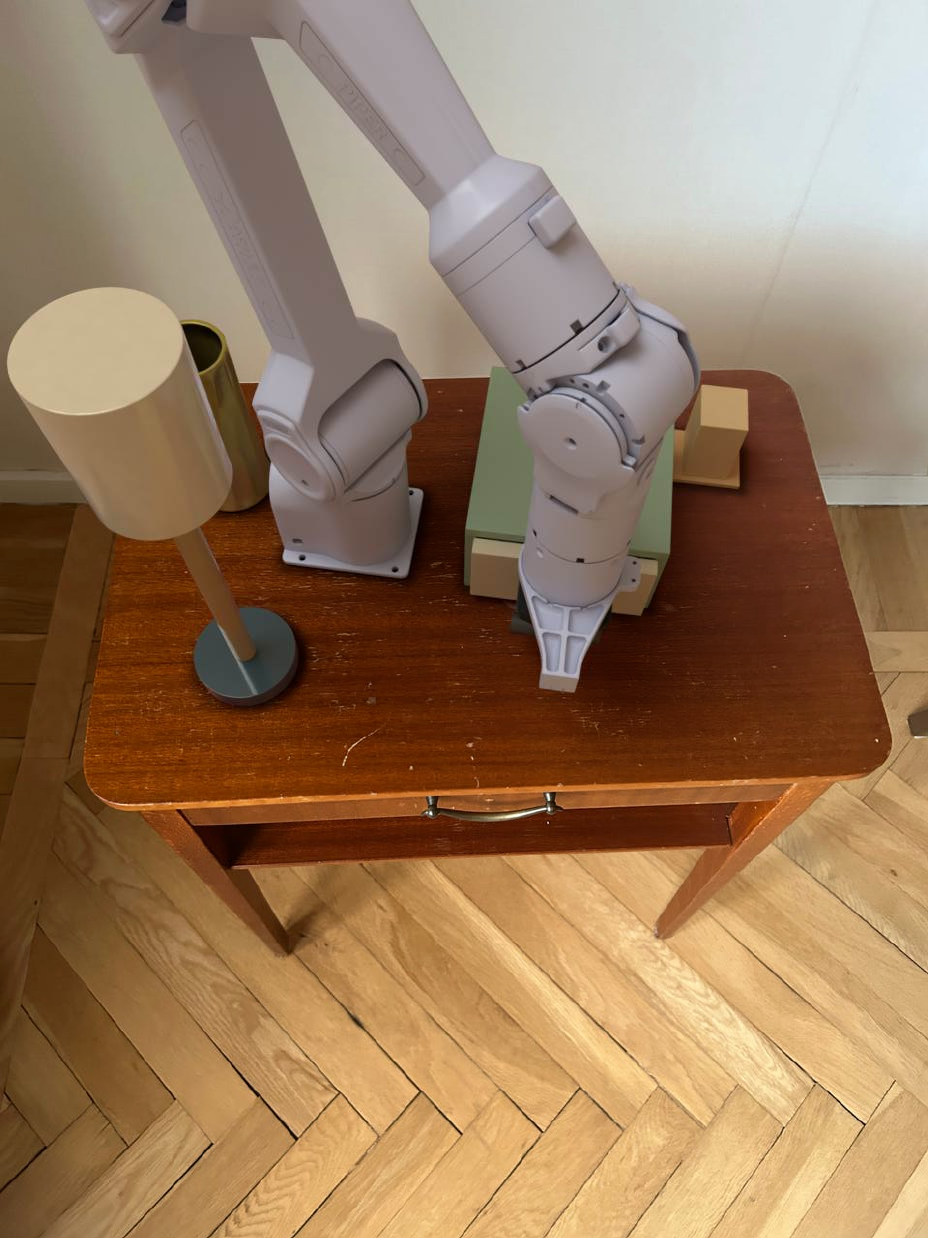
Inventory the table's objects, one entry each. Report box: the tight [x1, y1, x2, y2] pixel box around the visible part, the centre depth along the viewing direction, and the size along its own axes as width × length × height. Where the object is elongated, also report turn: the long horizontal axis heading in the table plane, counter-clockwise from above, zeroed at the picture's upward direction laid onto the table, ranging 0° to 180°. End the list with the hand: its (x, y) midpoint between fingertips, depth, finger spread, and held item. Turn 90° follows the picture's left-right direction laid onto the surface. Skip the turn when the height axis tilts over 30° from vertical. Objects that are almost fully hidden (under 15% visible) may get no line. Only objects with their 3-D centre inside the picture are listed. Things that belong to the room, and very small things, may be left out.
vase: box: [179, 318, 271, 512], centre depth 63 cm, size 6×6×14 cm
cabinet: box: [463, 365, 676, 609], centre depth 65 cm, size 15×14×8 cm
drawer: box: [469, 538, 658, 646], centre depth 63 cm, size 18×12×6 cm
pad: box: [673, 429, 741, 490], centre depth 70 cm, size 6×5×1 cm
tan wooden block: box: [682, 384, 750, 479], centre depth 68 cm, size 4×4×6 cm
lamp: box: [6, 286, 300, 707], centre depth 49 cm, size 7×7×30 cm
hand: (554, 637), depth 59 cm, fingers closed, pressing on drawer
